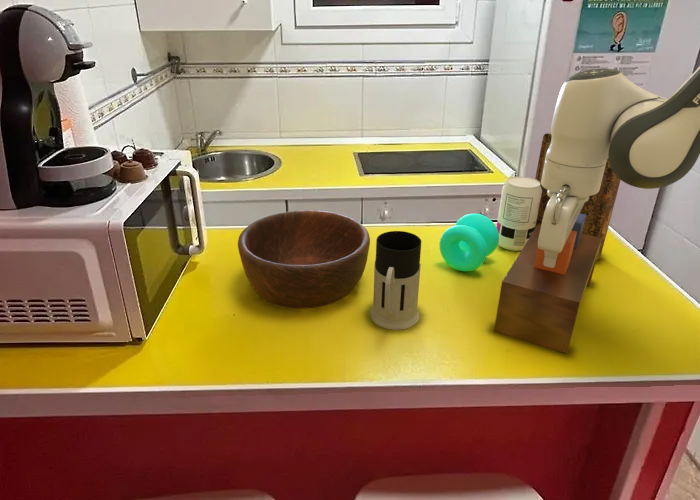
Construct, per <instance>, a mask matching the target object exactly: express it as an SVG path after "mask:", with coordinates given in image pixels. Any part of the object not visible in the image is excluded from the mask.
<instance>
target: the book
mask: <svg viewBox="0 0 700 500" xmlns="http://www.w3.org/2000/svg"><path fill="white" fill-rule="evenodd" d="M551 139H552V135H551V133H549V132H547V133H546V132H545V133H544V134H543V136H542V139H541V140H542V141H541V145H540V151H539V156H538V162H537V167H536V173H535V178H534V179H536V180H538V181H539V182H540V186H541V189H542V195H541V200H540V205H539V211H538V216H537V221H536V226H535V228H536V227H537V225H538V224H539V225H542V220H543V216H544V212H545V209H546V206H547V203H548V201H549V200H550V197H549V196H548V195H547V189H545V188H544V187H543V186H542V185H541V179H542V173H543V168H544V162H545V157H546V153H547V150H548V148H549V146H550V144H551ZM620 184H621V180H620V179H619V178H618V177H617V176H616V175H615V173H614V172H613V170H612V169H611V166H610V163H609V158H608V159H607V162H606V166H605V170H604V174H603V178H602V182H601V186H600V190H599V192H598V193H597V194H595V195H591V196H589V199H588V201H586V202H585V203H584V205H583V208H582V210H581V212H580V213H581V214H586V218H585V222H584V226H583V231H582V234H586V235H591V236H596V237H600V238H602V240H601V244H600V248H599V252H598V256H597V260H596V263H597V262H598V261H600V260H601V258H602V257H601V256H602V253H603V249H604V245H605V241H606V237H607V234H608V230H609V226H610V223H611V220H612V219H611V218H612V214H613V210H614V207H615V203H616V199H617V195H618V191H619V188H620Z"/></svg>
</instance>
